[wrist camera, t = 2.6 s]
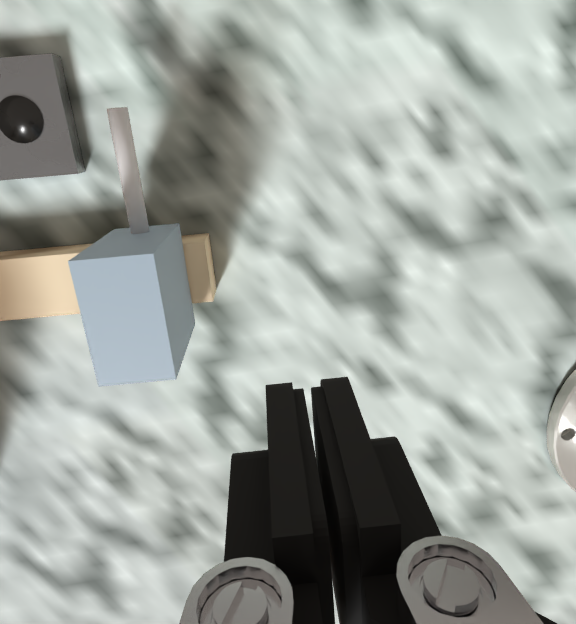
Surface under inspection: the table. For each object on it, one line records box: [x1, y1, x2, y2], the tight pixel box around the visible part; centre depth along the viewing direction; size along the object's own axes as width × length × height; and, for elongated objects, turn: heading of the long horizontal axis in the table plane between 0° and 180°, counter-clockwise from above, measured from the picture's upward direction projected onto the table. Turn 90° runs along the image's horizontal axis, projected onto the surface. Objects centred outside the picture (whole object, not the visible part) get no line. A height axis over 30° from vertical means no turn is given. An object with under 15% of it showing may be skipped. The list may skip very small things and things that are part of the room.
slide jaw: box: [68, 107, 195, 387], centre depth 20 cm, size 3×10×6 cm, turn 4°
